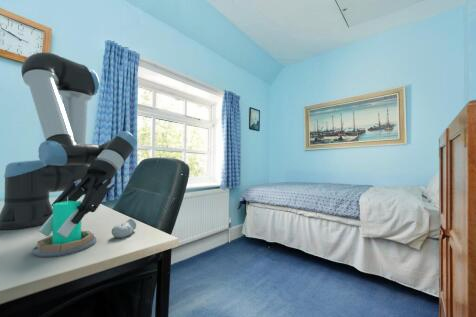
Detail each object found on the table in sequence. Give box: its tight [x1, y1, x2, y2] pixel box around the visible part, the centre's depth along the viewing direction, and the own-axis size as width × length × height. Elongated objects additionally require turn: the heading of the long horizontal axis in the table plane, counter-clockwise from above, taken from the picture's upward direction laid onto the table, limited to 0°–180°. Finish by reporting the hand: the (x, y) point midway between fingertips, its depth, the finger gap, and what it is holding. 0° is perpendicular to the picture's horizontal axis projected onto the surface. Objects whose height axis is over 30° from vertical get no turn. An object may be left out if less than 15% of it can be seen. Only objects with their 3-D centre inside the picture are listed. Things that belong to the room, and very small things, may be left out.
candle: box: [52, 197, 82, 244], centre depth 56 cm, size 6×6×12 cm
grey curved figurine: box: [111, 218, 137, 239], centre depth 65 cm, size 4×8×5 cm
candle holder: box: [32, 230, 97, 258], centre depth 56 cm, size 13×13×2 cm
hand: (52, 234), depth 52 cm, fingers closed on candle, 5 cm apart
